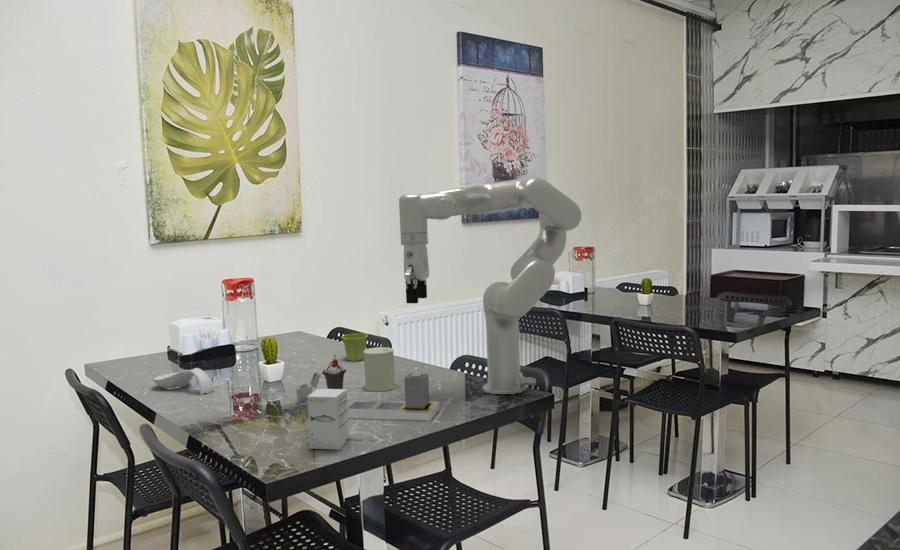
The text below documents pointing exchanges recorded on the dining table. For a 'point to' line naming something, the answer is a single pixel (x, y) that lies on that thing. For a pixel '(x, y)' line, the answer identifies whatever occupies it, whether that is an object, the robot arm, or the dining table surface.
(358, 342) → the plant pot
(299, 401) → the lighter
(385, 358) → the can
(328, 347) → the dining table surface
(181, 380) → the spoon rest
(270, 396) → the dining table surface
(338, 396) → the supplement box
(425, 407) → the gray rectangular block
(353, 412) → the gray compartment tray
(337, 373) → the sundae
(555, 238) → the robot arm
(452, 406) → the dining table surface
